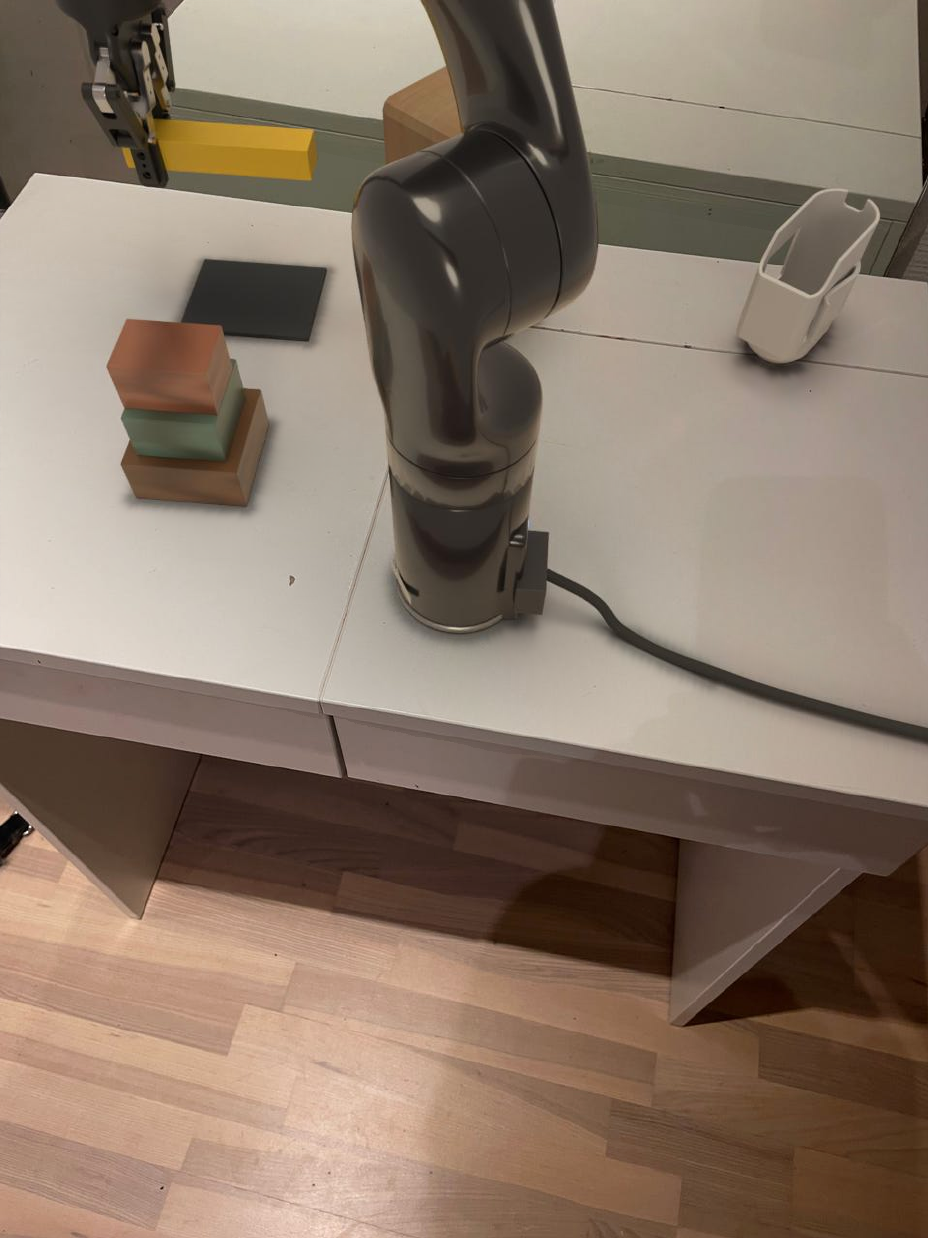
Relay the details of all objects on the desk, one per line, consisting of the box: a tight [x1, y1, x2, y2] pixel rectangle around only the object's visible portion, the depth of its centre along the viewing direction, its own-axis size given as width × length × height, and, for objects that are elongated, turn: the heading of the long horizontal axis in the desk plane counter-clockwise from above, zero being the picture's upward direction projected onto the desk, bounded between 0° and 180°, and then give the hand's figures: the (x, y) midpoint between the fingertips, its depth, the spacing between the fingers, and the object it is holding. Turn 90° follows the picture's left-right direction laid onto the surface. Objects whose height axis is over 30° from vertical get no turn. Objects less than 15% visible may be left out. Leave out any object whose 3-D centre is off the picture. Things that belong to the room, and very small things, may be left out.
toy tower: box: [105, 318, 270, 507], centre depth 67 cm, size 9×9×12 cm
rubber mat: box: [180, 258, 328, 342], centre depth 82 cm, size 12×10×1 cm
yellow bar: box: [121, 116, 319, 181], centre depth 70 cm, size 15×3×2 cm, turn 85°
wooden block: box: [382, 65, 461, 165], centre depth 73 cm, size 10×10×20 cm
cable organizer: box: [735, 188, 881, 364], centre depth 76 cm, size 7×12×12 cm, turn 141°
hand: (161, 170), depth 72 cm, fingers closed on yellow bar, 3 cm apart
